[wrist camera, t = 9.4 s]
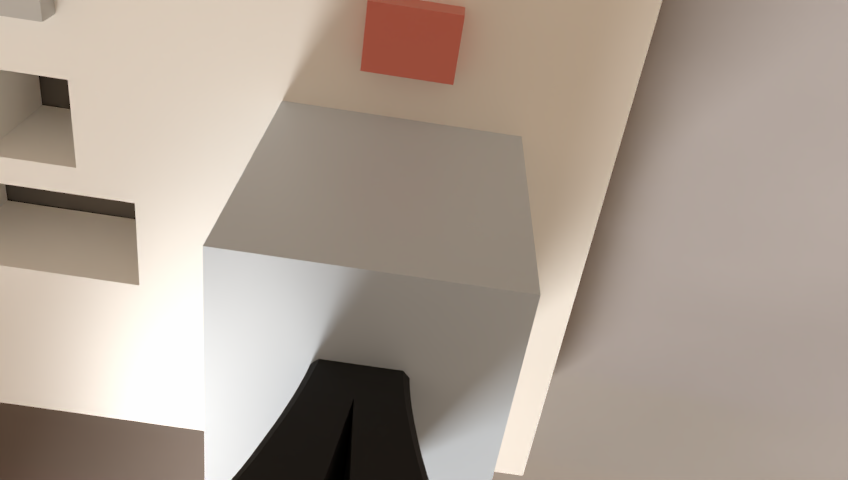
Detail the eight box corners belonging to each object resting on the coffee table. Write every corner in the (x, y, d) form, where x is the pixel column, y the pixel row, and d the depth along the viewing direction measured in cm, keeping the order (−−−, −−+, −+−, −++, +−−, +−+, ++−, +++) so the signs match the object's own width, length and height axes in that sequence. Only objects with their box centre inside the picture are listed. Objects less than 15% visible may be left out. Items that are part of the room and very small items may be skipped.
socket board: (517, 403, 21) (523, 492, 19) (-50, 322, 21) (-122, 401, 18) (645, -67, 15) (680, -29, 13) (-160, -195, 15) (-294, -184, 12)
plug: (471, 311, 19) (469, 563, 13) (289, 284, 19) (205, 527, 13) (516, 96, 16) (540, 294, 10) (302, 63, 16) (202, 246, 10)
